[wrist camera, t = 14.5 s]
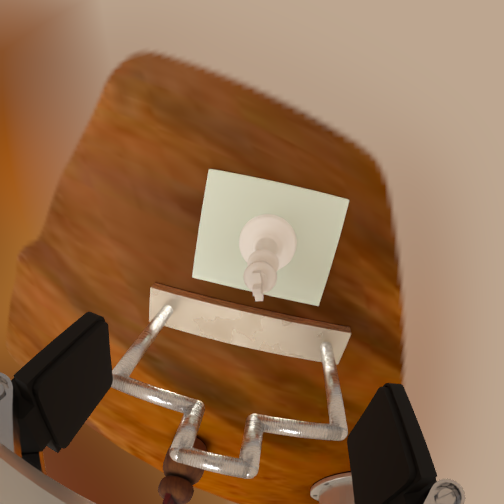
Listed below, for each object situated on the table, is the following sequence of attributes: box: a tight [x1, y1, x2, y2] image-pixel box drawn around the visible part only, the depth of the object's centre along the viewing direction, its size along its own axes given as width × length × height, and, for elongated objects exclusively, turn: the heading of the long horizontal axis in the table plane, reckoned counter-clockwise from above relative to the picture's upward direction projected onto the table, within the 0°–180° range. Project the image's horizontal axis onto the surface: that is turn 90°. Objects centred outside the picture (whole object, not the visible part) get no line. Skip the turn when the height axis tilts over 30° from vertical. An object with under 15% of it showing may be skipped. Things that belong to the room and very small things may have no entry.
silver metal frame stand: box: [111, 283, 351, 479], centre depth 21 cm, size 4×20×17 cm, turn 79°
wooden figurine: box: [158, 438, 207, 504], centre depth 29 cm, size 7×6×15 cm
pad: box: [192, 169, 349, 306], centre depth 25 cm, size 10×12×1 cm
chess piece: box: [239, 214, 297, 301], centre depth 20 cm, size 5×5×10 cm
